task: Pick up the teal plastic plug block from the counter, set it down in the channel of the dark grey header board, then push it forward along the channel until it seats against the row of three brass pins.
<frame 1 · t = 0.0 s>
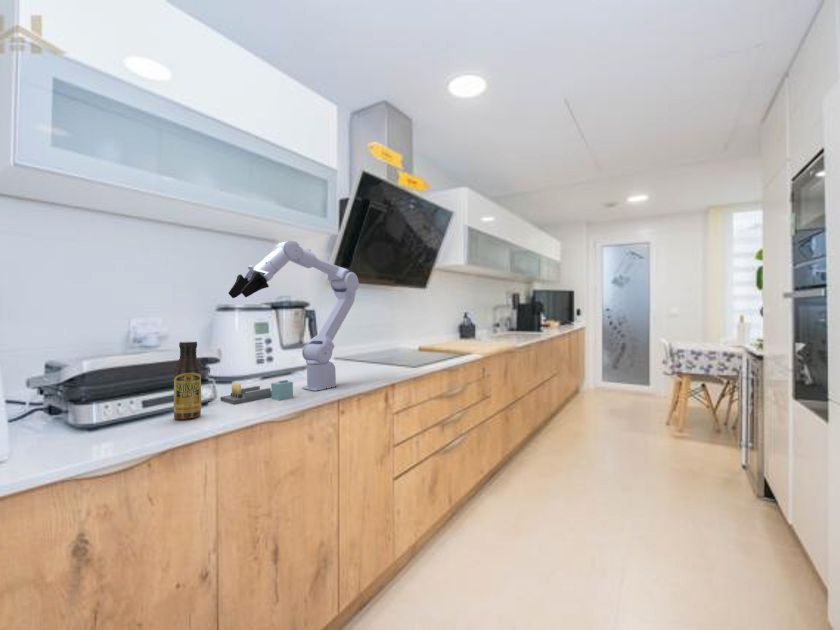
hand: (237, 295, 117), 32 cm above the countertop, tool tilted 50°, fingers open, 7 cm apart
plug block: (282, 398, 125), on the countertop
sauce bottle: (188, 418, 104), on the countertop
header board: (249, 398, 126), on the countertop
cork: (201, 402, 122), on the countertop
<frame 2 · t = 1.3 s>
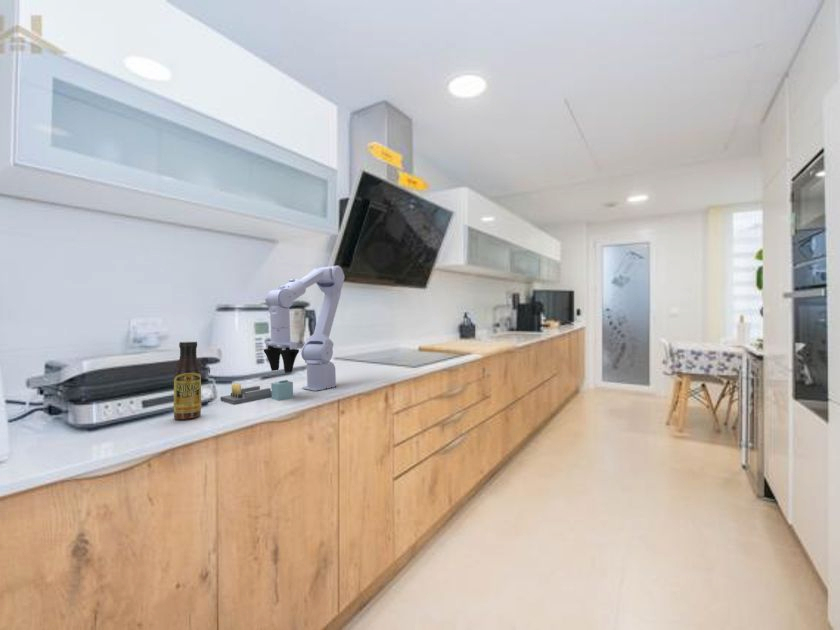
hand: (281, 371, 124), 8 cm above the countertop, tool pointing down, fingers open, 7 cm apart
nothing on the countertop moved.
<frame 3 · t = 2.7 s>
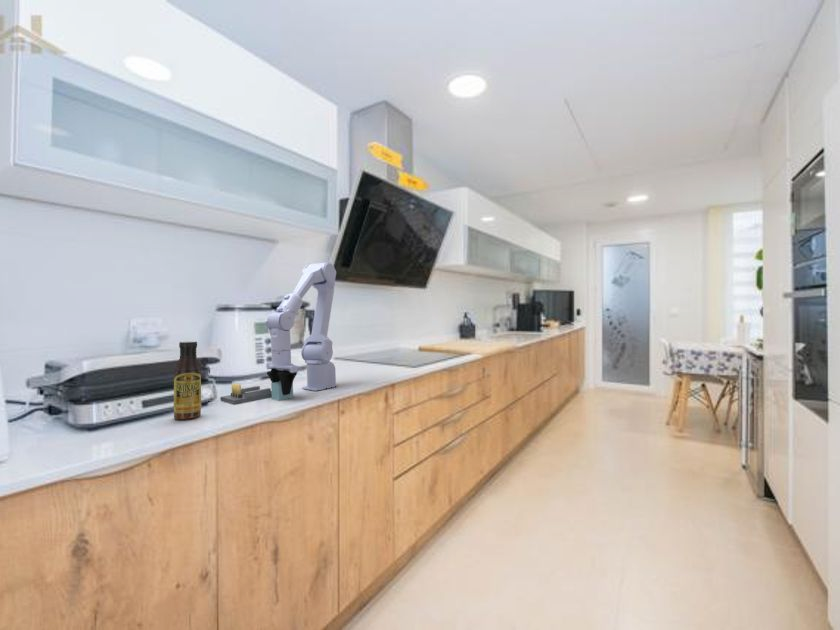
hand: (282, 393, 125), 1 cm above the countertop, tool pointing down, fingers closed on plug block, 4 cm apart
plug block: (282, 398, 125), on the countertop, touching gripper
everything else where it was.
when the fingers open (4 cm above the countertop, at t = 5.5 s): plug block stays where it is, resting on header board.
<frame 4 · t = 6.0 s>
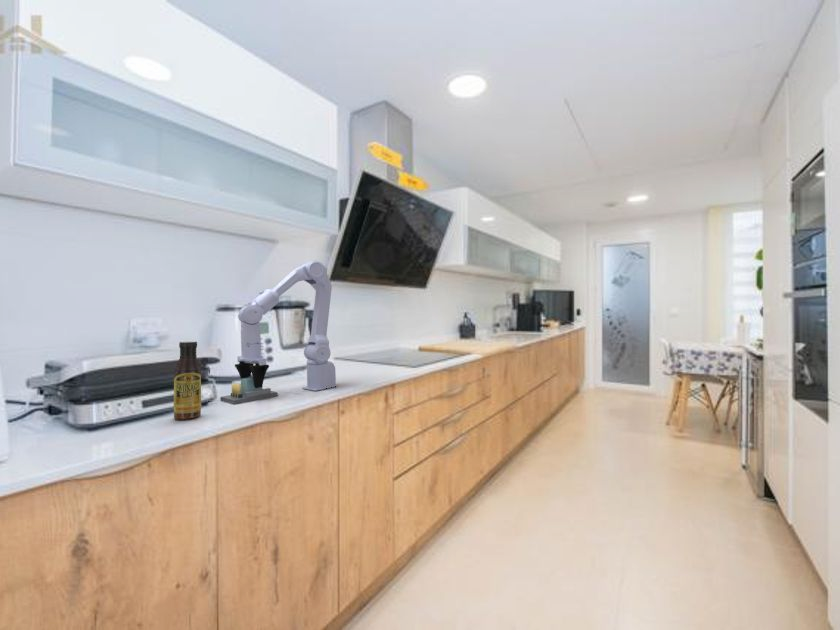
hand: (252, 386, 126), 4 cm above the countertop, tool pointing down, fingers open, 7 cm apart
plug block: (252, 393, 126), point 1 cm above the countertop, touching header board
everything else where it was.
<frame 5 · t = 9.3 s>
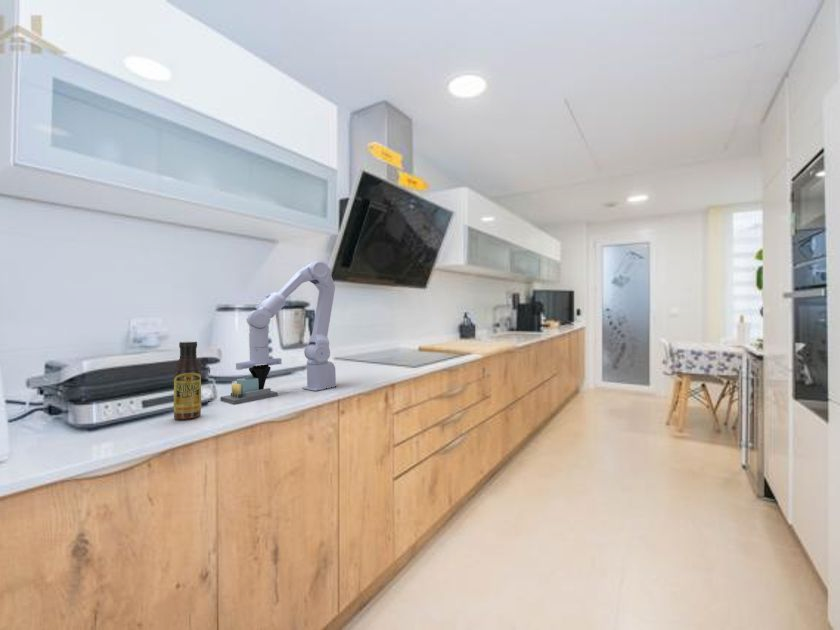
hand: (260, 389, 128), 2 cm above the countertop, tool pointing down, fingers closed
plug block: (248, 394, 125), point 1 cm above the countertop, touching gripper, header board
everything else where it was.
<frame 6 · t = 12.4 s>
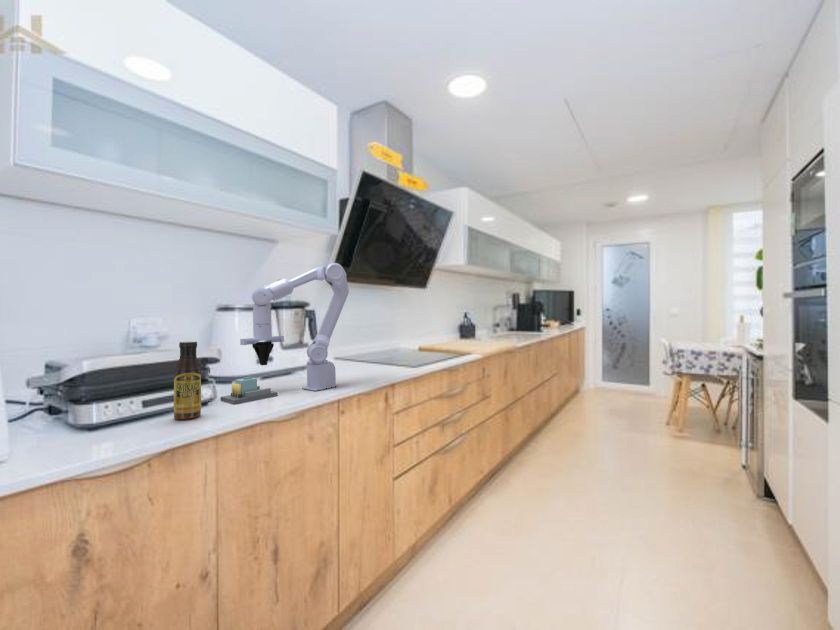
hand: (263, 365, 133), 9 cm above the countertop, tool pointing down, fingers closed
plug block: (246, 395, 125), point 1 cm above the countertop, touching header board
everything else where it was.
at the end: plug block 0.3 cm off-centre on the header board, point 1.2 cm above the header board's base; plug block tilted 0° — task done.
